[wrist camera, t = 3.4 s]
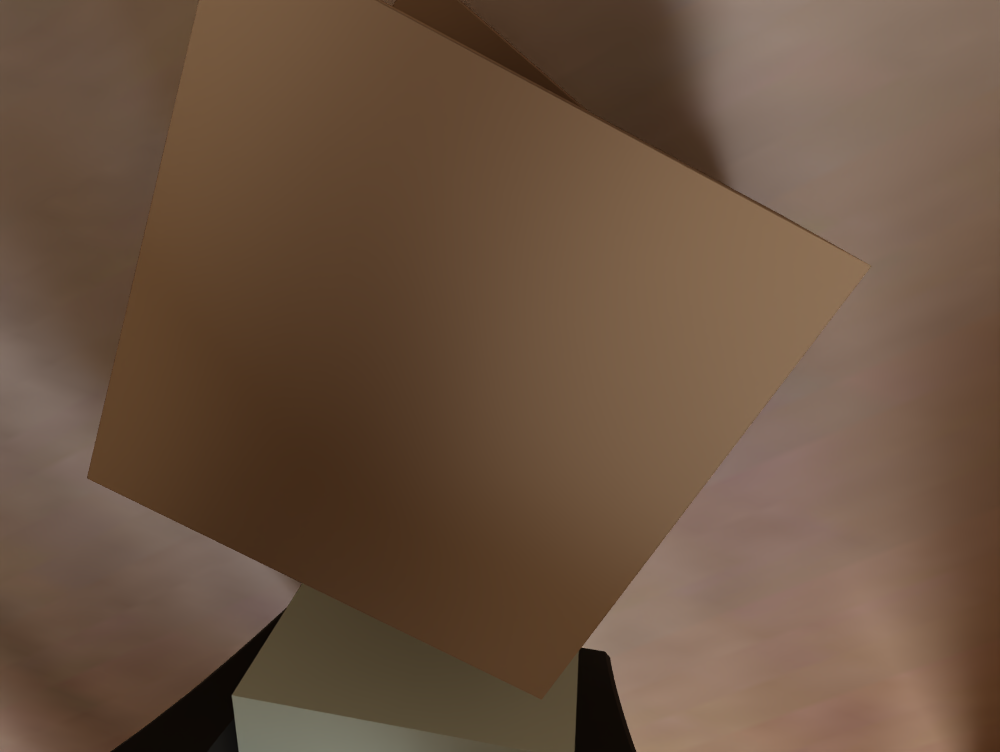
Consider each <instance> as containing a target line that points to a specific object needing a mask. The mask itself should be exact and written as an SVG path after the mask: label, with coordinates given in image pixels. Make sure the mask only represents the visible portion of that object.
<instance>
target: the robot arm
mask: <svg viewBox="0 0 1000 752" xmlns="http://www.w3.org/2000/svg"><path fill="white" fill-rule="evenodd" d="M285 610H286V609H285ZM285 610H284V611H282V612H281V613H280V614H279V615H278V616H277V617H276V618H275V619H274V620H272V621H271V622H270V623H269V624H268V625H267V626H266V627H265V628H264V629H263V630H261V631H260V632H259V633H258V634H257V635H256V636H255V637H254V638H253V639H251V640H250V641H249V642H248V643H247V644H246V645H245V646H244V647H242V648H241V649H240V650H239V651H238V652H237V653H236V654H234V655H233V656H232V657H231V658H230V659H229V660H227V661H226V662H225V663H224V664H223V665H221V666H220V667H219V668H218V669H217V670H216V671H214V672H213V673H212V674H211V675H210V676H209V677H207V678H206V679H205V680H204V681H203V682H201V683H200V684H199V685H198V686H197V687H195V688H194V689H193V690H192V691H190V692H189V693H188V694H187V695H185V696H184V697H183V698H182V699H180V700H179V701H178V702H176V703H175V704H174V705H173V706H171V707H170V708H169V709H167V710H166V711H165V712H164V713H162V714H161V715H160V716H158V717H157V718H156V719H155V720H153V721H152V722H151V723H149V724H148V725H147V726H145V727H144V728H143V729H141V730H140V731H139V732H137V733H136V734H135V735H133V736H132V737H130V738H129V739H128V740H126V741H125V742H123V743H122V744H121V745H119V746H118V747H116V748H115V749H114V750H112V751H111V752H239V750H238V742H237V734H236V725H235V717H234V709H233V701H232V694H233V693H234V691H235V689H236V688H237V686H238V685H239V683H240V681H241V680H242V678H243V677H244V675H245V673H246V672H247V670H248V669H249V667H250V666H251V664H252V662H253V661H254V659H255V658H256V656H257V654H258V653H259V651H260V650H261V648H262V647H263V645H264V643H265V642H266V640H267V639H268V637H269V635H270V634H271V632H272V631H273V629H274V627H275V626H276V624H277V623H278V621H279V620H280V618H281V616H282V615H283V613H284V612H285ZM575 752H636V750H635V747H634V744H633V741H632V738H631V735H630V732H629V729H628V726H627V723H626V720H625V717H624V713H623V710H622V707H621V703H620V700H619V696H618V692H617V689H616V685H615V680H614V676H613V671H612V666H611V660H610V657H609V656H608V655H607V653H606V652H604V651H598V650H592V649H586V648H581V649H580V650H579V654H578V679H577V704H576V728H575Z"/></svg>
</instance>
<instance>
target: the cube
mask: <svg viewBox="0 0 1000 752" xmlns="http://www.w3.org/2000/svg"><path fill="white" fill-rule="evenodd" d="M578 654H579V651H578V653H577V654H576V655H575V656H574V658H573V659H572V660H571V662H570V663H569V664H568V666H567V667H566V668H565V670H564V671H563V672H562V674H561V675H560V676H559V678H558V679H557V680H556V681H555V683H554V684H553V685H552V687H551V688H550V689H549V691H548V692H547V693H546V695H545V696H544V697H543V699H542V700H541V699H539V698H537V697H535V696H533V695H531V694H529V693H527V692H525V691H523V690H521V689H519V688H517V687H514V686H512V685H510V684H508V683H506V682H504V681H502V680H500V679H498V678H496V677H494V676H492V675H490V674H488V673H486V672H484V671H482V670H480V669H478V668H475V667H473V666H471V665H469V664H467V663H465V662H463V661H461V660H459V659H457V658H455V657H453V656H451V655H449V654H447V653H445V652H443V651H441V650H439V649H436V648H434V647H432V646H430V645H428V644H426V643H424V642H422V641H420V640H418V639H416V638H414V637H412V636H410V635H408V634H406V633H404V632H402V631H400V630H397V629H395V628H393V627H391V626H389V625H387V624H385V623H383V622H381V621H379V620H377V619H375V618H373V617H371V616H369V615H367V614H365V613H363V612H361V611H358V610H356V609H354V608H352V607H350V606H348V605H346V604H344V603H342V602H340V601H338V600H336V599H334V598H332V597H330V596H328V595H326V594H324V593H322V592H319V591H317V590H315V589H313V588H311V587H309V586H307V585H305V584H303V583H302V585H301V586H300V588H299V589H298V591H297V593H296V594H295V596H294V597H293V599H292V600H291V602H290V604H289V605H288V607H287V608H286V610H285V612H284V613H283V615H282V616H281V618H280V620H279V621H278V623H277V624H276V626H275V627H274V629H273V631H272V632H271V634H270V635H269V637H268V639H267V640H266V642H265V643H264V645H263V647H262V648H261V650H260V651H259V653H258V654H257V656H256V658H255V659H254V661H253V662H252V664H251V666H250V667H249V669H248V670H247V672H246V673H245V675H244V677H243V678H242V680H241V681H240V683H239V685H238V686H237V688H236V689H235V691H234V693H233V694H232V701H233V709H234V717H235V725H236V734H237V742H238V750H239V752H575V728H576V704H577V679H578Z"/></svg>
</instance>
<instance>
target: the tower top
mask: <svg viewBox="0 0 1000 752" xmlns="http://www.w3.org/2000/svg"><path fill="white" fill-rule="evenodd" d="M870 267H871V266H870V265H869V264H867V263H865V262H863V261H861V260H860V259H858V258H856V257H854V256H853V255H851V254H849V253H847V252H846V251H844V250H842V249H840V248H839V247H837V246H835V245H833V244H832V243H830V242H828V241H826V240H825V239H823V238H821V237H819V236H818V235H816V234H814V233H812V232H810V231H809V230H807V229H805V228H803V227H802V226H800V225H798V224H796V223H795V222H793V221H791V220H789V219H788V218H786V217H784V216H782V215H780V214H779V213H777V212H775V211H773V210H771V209H769V208H767V207H766V206H764V205H762V204H760V203H758V202H756V201H754V200H752V199H751V198H749V197H747V196H745V195H743V194H741V193H739V192H738V191H736V190H734V189H732V188H730V187H728V186H726V185H725V184H723V183H721V182H719V181H717V180H715V179H713V178H711V177H710V176H708V175H706V174H704V173H702V172H700V171H698V170H697V169H695V168H693V167H691V166H689V165H687V164H685V163H683V162H682V161H680V160H678V159H676V158H674V157H672V156H670V155H669V154H667V153H665V152H663V151H661V150H659V149H657V148H655V147H654V146H652V145H650V144H648V143H646V142H644V141H642V140H641V139H639V138H637V137H635V136H633V135H631V134H629V133H628V132H626V131H624V130H622V129H620V128H618V127H616V126H614V125H613V124H611V123H609V122H607V121H605V120H603V119H601V118H600V117H598V116H596V115H594V114H592V113H590V112H588V111H586V110H585V109H583V108H581V107H579V106H577V105H575V104H573V103H572V102H570V101H568V100H566V99H564V98H562V97H560V96H558V95H557V94H555V93H553V92H551V91H549V90H547V89H545V88H544V87H542V86H540V85H538V84H536V83H534V82H532V81H531V80H529V79H527V78H525V77H523V76H521V75H519V74H517V73H516V72H514V71H512V70H510V69H508V68H506V67H504V66H503V65H501V64H499V63H497V62H495V61H493V60H491V59H489V58H488V57H486V56H484V55H482V54H480V53H478V52H476V51H475V50H473V49H471V48H469V47H467V46H465V45H463V44H462V43H460V42H458V41H456V40H454V39H452V38H450V37H448V36H447V35H445V34H443V33H441V32H439V31H437V30H435V29H434V28H432V27H430V26H428V25H426V24H424V23H422V22H420V21H419V20H417V19H415V18H413V17H411V16H409V15H407V14H406V13H404V12H402V11H400V10H398V9H396V8H394V7H392V6H391V5H389V4H387V3H385V2H383V1H381V0H199V2H198V6H197V10H196V14H195V19H194V23H193V27H192V32H191V36H190V40H189V44H188V49H187V53H186V57H185V61H184V66H183V70H182V74H181V78H180V83H179V87H178V91H177V96H176V100H175V104H174V108H173V113H172V117H171V121H170V125H169V130H168V134H167V138H166V143H165V147H164V151H163V155H162V160H161V164H160V168H159V172H158V177H157V181H156V185H155V190H154V194H153V198H152V202H151V207H150V211H149V215H148V219H147V224H146V228H145V232H144V237H143V241H142V245H141V249H140V254H139V258H138V262H137V266H136V271H135V275H134V279H133V283H132V288H131V292H130V296H129V301H128V305H127V309H126V313H125V318H124V322H123V326H122V330H121V335H120V339H119V343H118V348H117V352H116V356H115V360H114V365H113V369H112V373H111V377H110V382H109V386H108V390H107V395H106V399H105V403H104V407H103V412H102V416H101V420H100V424H99V429H98V433H97V437H96V441H95V446H94V450H93V454H92V459H91V463H90V467H89V471H88V476H87V478H88V479H90V480H92V481H94V482H96V483H98V484H100V485H102V486H104V487H106V488H108V489H110V490H112V491H114V492H116V493H118V494H120V495H122V496H125V497H127V498H129V499H131V500H133V501H135V502H137V503H139V504H141V505H143V506H145V507H147V508H149V509H151V510H153V511H155V512H157V513H159V514H161V515H164V516H166V517H168V518H170V519H172V520H174V521H176V522H178V523H180V524H182V525H184V526H186V527H188V528H190V529H192V530H194V531H196V532H198V533H200V534H203V535H205V536H207V537H209V538H211V539H213V540H215V541H217V542H219V543H221V544H223V545H225V546H227V547H229V548H231V549H233V550H235V551H237V552H239V553H242V554H244V555H246V556H248V557H250V558H252V559H254V560H256V561H258V562H260V563H262V564H264V565H266V566H268V567H270V568H272V569H274V570H276V571H278V572H281V573H283V574H285V575H287V576H289V577H291V578H293V579H295V580H297V581H299V582H301V583H303V584H305V585H307V586H309V587H311V588H313V589H315V590H317V591H319V592H322V593H324V594H326V595H328V596H330V597H332V598H334V599H336V600H338V601H340V602H342V603H344V604H346V605H348V606H350V607H352V608H354V609H356V610H358V611H361V612H363V613H365V614H367V615H369V616H371V617H373V618H375V619H377V620H379V621H381V622H383V623H385V624H387V625H389V626H391V627H393V628H395V629H397V630H400V631H402V632H404V633H406V634H408V635H410V636H412V637H414V638H416V639H418V640H420V641H422V642H424V643H426V644H428V645H430V646H432V647H434V648H436V649H439V650H441V651H443V652H445V653H447V654H449V655H451V656H453V657H455V658H457V659H459V660H461V661H463V662H465V663H467V664H469V665H471V666H473V667H475V668H478V669H480V670H482V671H484V672H486V673H488V674H490V675H492V676H494V677H496V678H498V679H500V680H502V681H504V682H506V683H508V684H510V685H512V686H514V687H517V688H519V689H521V690H523V691H525V692H527V693H529V694H531V695H533V696H535V697H537V698H539V699H541V700H542V699H543V697H544V696H545V695H546V693H547V692H548V691H549V689H550V688H551V687H552V685H553V684H554V683H555V681H556V680H557V679H558V678H559V676H560V675H561V674H562V672H563V671H564V670H565V668H566V667H567V666H568V664H569V663H570V662H571V660H572V659H573V658H574V656H575V655H576V654H577V653H578V651H579V650H580V649H581V647H582V646H583V645H584V643H585V642H586V641H587V639H588V638H589V637H590V635H591V634H592V633H593V631H594V630H595V629H596V628H597V626H598V625H599V624H600V622H601V621H602V620H603V618H604V617H605V616H606V614H607V613H608V612H609V610H610V609H611V608H612V606H613V605H614V604H615V603H616V601H617V600H618V599H619V597H620V596H621V595H622V593H623V592H624V591H625V589H626V588H627V587H628V585H629V584H630V583H631V581H632V580H633V579H634V578H635V576H636V575H637V574H638V572H639V571H640V570H641V568H642V567H643V566H644V564H645V563H646V562H647V560H648V559H649V558H650V556H651V555H652V554H653V553H654V551H655V550H656V549H657V547H658V546H659V545H660V543H661V542H662V541H663V539H664V538H665V537H666V535H667V534H668V533H669V532H670V530H671V529H672V528H673V526H674V525H675V524H676V522H677V521H678V520H679V518H680V517H681V516H682V514H683V513H684V512H685V510H686V509H687V508H688V507H689V505H690V504H691V503H692V501H693V500H694V499H695V497H696V496H697V495H698V493H699V492H700V491H701V489H702V488H703V487H704V485H705V484H706V483H707V482H708V480H709V479H710V478H711V476H712V475H713V474H714V472H715V471H716V470H717V468H718V467H719V466H720V464H721V463H722V462H723V460H724V459H725V458H726V457H727V455H728V454H729V453H730V451H731V450H732V449H733V447H734V446H735V445H736V443H737V442H738V441H739V439H740V438H741V437H742V435H743V434H744V433H745V432H746V430H747V429H748V428H749V426H750V425H751V424H752V422H753V421H754V420H755V418H756V417H757V416H758V414H759V413H760V412H761V410H762V409H763V408H764V407H765V405H766V404H767V403H768V401H769V400H770V399H771V397H772V396H773V395H774V393H775V392H776V391H777V389H778V388H779V387H780V385H781V384H782V383H783V382H784V380H785V379H786V378H787V376H788V375H789V374H790V372H791V371H792V370H793V368H794V367H795V366H796V364H797V363H798V362H799V361H800V359H801V358H802V357H803V355H804V354H805V353H806V351H807V350H808V349H809V347H810V346H811V345H812V343H813V342H814V341H815V339H816V338H817V337H818V336H819V334H820V333H821V332H822V330H823V329H824V328H825V326H826V325H827V324H828V322H829V321H830V320H831V318H832V317H833V316H834V314H835V313H836V312H837V311H838V309H839V308H840V307H841V305H842V304H843V303H844V301H845V300H846V299H847V297H848V296H849V295H850V293H851V292H852V291H853V289H854V288H855V287H856V286H857V284H858V283H859V282H860V280H861V279H862V278H863V276H864V275H865V274H866V272H867V271H868V270H869V268H870Z"/></svg>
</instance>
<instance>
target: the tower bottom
mask: <svg viewBox="0 0 1000 752" xmlns="http://www.w3.org/2000/svg"><path fill="white" fill-rule="evenodd" d="M392 7H394V8H396V9H398V10H400V11H402V12H404V13H406V14H407V15H409V16H411V17H413V18H415V19H417V20H419V21H420V22H422V23H424V24H426V25H428V26H430V27H432V28H434V29H435V30H437V31H439V32H441V33H443V34H445V35H447V36H448V37H450V38H452V39H454V40H456V41H458V42H460V43H462V44H463V45H465V46H467V47H469V48H471V49H473V50H475V51H476V52H478V53H480V54H482V55H484V56H486V57H488V58H489V59H491V60H493V61H495V62H497V63H499V64H501V65H503V66H504V67H506V68H508V69H510V70H512V71H514V72H516V73H517V74H519V75H521V76H523V77H525V78H527V79H529V80H531V81H532V82H534V83H536V84H538V85H540V86H542V87H544V88H545V89H547V90H549V91H551V92H553V93H555V94H557V95H558V96H560V97H562V98H564V99H566V100H568V101H570V102H572V103H573V104H575V105H577V106H579V107H581V108H583V109H585V108H584V107H583V106H581V105H580V104H579V103H578V102H577V101H576V100H575V99H573V98H572V97H571V96H570V95H569V94H568V93H566V92H565V91H564V90H563V89H562V88H561V87H559V86H558V85H557V84H556V83H555V82H554V81H553V80H551V79H550V78H549V77H548V76H547V75H546V74H544V73H543V72H542V71H541V70H540V69H539V68H538V67H536V66H535V65H534V64H533V63H532V62H531V61H529V60H528V59H527V58H526V57H525V56H524V55H522V54H521V53H520V52H519V51H518V50H517V49H516V48H514V47H513V46H512V45H511V44H510V43H509V42H507V41H506V40H505V39H504V38H503V37H502V36H501V35H499V34H498V33H497V32H496V31H495V30H494V29H492V28H491V27H490V26H489V25H488V24H487V23H485V22H484V21H483V20H482V19H481V18H480V17H479V16H477V15H476V14H475V13H474V12H473V11H472V10H470V9H469V8H468V7H467V6H466V5H465V4H464V3H462V2H461V1H460V0H396V1H395V3H394V5H393V6H392ZM585 110H586V109H585ZM586 111H587V110H586Z"/></svg>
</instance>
